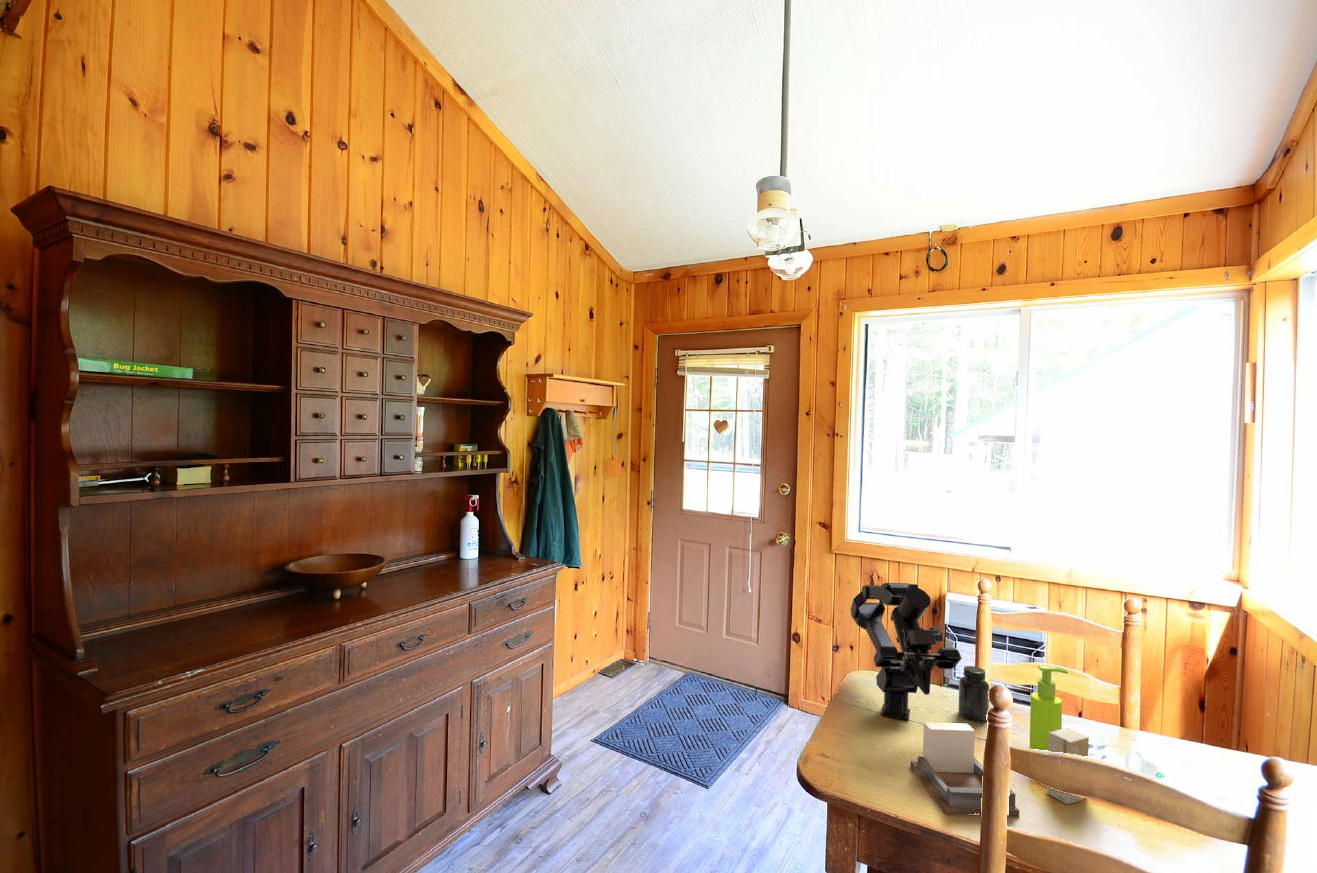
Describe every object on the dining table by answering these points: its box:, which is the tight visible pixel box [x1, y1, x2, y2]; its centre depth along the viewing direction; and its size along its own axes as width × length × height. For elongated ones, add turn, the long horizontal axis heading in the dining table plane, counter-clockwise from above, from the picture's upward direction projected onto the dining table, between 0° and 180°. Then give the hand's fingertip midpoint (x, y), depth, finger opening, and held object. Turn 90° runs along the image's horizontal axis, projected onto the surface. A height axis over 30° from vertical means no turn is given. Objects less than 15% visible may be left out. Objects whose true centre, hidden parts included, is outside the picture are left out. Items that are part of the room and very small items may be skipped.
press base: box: [909, 755, 1020, 818], centre depth 118 cm, size 16×14×4 cm
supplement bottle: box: [958, 665, 990, 723], centre depth 151 cm, size 7×7×12 cm
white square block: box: [922, 721, 976, 773], centre depth 124 cm, size 4×9×9 cm, turn 90°
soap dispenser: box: [1029, 664, 1069, 750], centre depth 132 cm, size 6×7×20 cm
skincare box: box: [1046, 727, 1090, 805], centre depth 118 cm, size 6×4×12 cm
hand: (927, 694), depth 134 cm, fingers closed
